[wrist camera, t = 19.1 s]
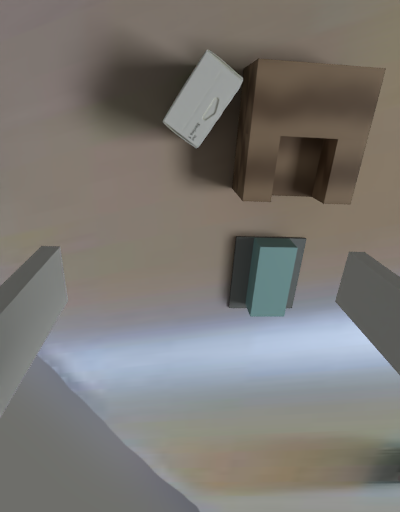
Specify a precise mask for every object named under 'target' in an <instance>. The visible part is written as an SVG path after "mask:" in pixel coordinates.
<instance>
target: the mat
mask: <svg viewBox="0 0 400 512" xmlns="http://www.w3.org/2000/svg"><path fill="white" fill-rule="evenodd" d="M254 238H286V237H241V236H236V245H235V254H234V263H233V272H232V281H231V291H230V300H229V308H247V306H246V304H245V303H246V296H247V288H248V281H249V273H250V266H251V258H252V251H253V244H254ZM287 239H290V240H291V241H292V242H293V243H294V244H295V245H296V246H297V247H298V249H297V254H296V259H295V264H294V269H293V274H292V279H291V284H290V289H289V294H288V299H287V304H286V308H292V305H293V300H294V295H295V291H296V286H297V281H298V276H299V272H300V267H301V262H302V257H303V253H304V248H305V243H306V238H287Z"/></svg>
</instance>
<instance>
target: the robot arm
mask: <svg viewBox="0 0 400 512" xmlns="http://www.w3.org/2000/svg"><path fill="white" fill-rule="evenodd" d="M67 302H68V297H67V290H66V283H65V276H64V270H63V263H62V256H61V249H60V247H59V246H41V247H40V248H39V249H38V250H37V251H36V252H35V253H34V254H33V255H32V256H31V257H30V258H29V259H28V260H27V261H26V262H25V263H24V264H23V265H22V266H21V267H20V268H19V269H18V270H17V271H16V272H15V273H13V274H12V275H11V276H10V277H9V278H8V279H7V280H6V281H5V282H4V283H3V284H2V285H1V286H0V418H1V416H2V414H3V412H4V411H5V409H6V407H7V406H8V404H9V402H10V401H11V399H12V397H13V395H14V393H15V392H16V390H17V388H18V387H19V385H20V383H21V381H22V380H23V378H24V376H25V374H26V373H27V371H28V369H29V368H30V366H31V364H32V362H33V360H34V359H35V357H36V356H37V354H38V352H39V350H40V349H41V347H42V345H43V343H44V342H45V340H46V338H47V336H48V335H49V333H50V331H51V330H52V328H53V326H54V324H55V323H56V321H57V319H58V317H59V316H60V314H61V312H62V311H63V309H64V307H65V305H66V304H67ZM335 302H336V303H337V304H338V305H339V306H340V307H341V309H342V310H343V311H344V312H345V313H346V314H347V315H348V317H349V318H350V319H351V320H352V321H353V322H354V323H355V325H356V326H357V327H358V328H359V329H360V330H361V331H362V333H363V334H364V335H365V336H366V337H367V338H368V339H369V340H370V342H371V343H372V344H373V345H374V346H375V347H376V348H377V350H378V351H379V352H380V353H381V354H382V355H383V356H384V358H385V359H386V360H387V361H388V362H389V363H390V364H391V366H392V367H393V368H394V369H395V370H396V371H397V372H398V374H399V375H400V277H399V276H398V275H396V274H395V273H393V272H392V271H390V270H389V269H388V268H386V267H385V266H383V265H382V264H381V263H379V262H378V261H376V260H375V259H373V258H372V257H371V256H369V255H368V254H366V253H365V252H349V254H348V257H347V261H346V264H345V268H344V272H343V275H342V279H341V283H340V286H339V290H338V293H337V297H336V301H335Z"/></svg>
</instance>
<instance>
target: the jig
mask: <svg viewBox="0 0 400 512" xmlns="http://www.w3.org/2000/svg"><path fill="white" fill-rule="evenodd" d="M385 70H386V68H373V67H360V66H348V65H335V64H322V63H309V62H296V61H283V60H271V59H257V60H256V61H254V62H253V63H252V64H250V65H249V66H247V67H246V68H244V70H243V82H242V91H241V102H240V112H239V122H238V133H237V143H236V154H235V164H234V174H233V185H232V189H233V190H234V191H235V192H236V193H237V195H238V196H239V197H240V198H241V200H242V201H259V202H271V196H272V195H278V196H306V197H313V198H315V199H317V200H318V201H320V202H322V203H323V204H349V205H350V204H351V200H352V196H353V193H354V189H355V185H356V181H357V177H358V174H359V170H360V166H361V162H362V158H363V154H364V151H365V147H366V143H367V139H368V135H369V131H370V128H371V124H372V120H373V116H374V112H375V108H376V105H377V101H378V97H379V93H380V89H381V85H382V82H383V78H384V74H385Z"/></svg>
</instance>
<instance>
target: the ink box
mask: <svg viewBox="0 0 400 512" xmlns="http://www.w3.org/2000/svg"><path fill="white" fill-rule="evenodd" d="M242 82H243V78H242V77H241V76H240V75H239V74H238V73H237V72H235V71H234V70H233V69H232V68H231V67H230V66H229V65H228V64H226V63H225V62H224V61H223V60H222V59H221V58H219V57H218V56H217V55H216V54H214V53H213V52H211V51H210V50H206V52H205V53H204V55H203V56H202V58H201V59H200V61H199V62H198V64H197V65H196V67H195V68H194V70H193V71H192V73H191V74H190V76H189V78H188V79H187V81H186V82H185V84H184V86H183V87H182V89H181V90H180V92H179V94H178V95H177V97H176V99H175V100H174V102H173V104H172V105H171V107H170V109H169V111H168V112H167V114H166V116H165V118H164V119H163V123H164V124H165V125H166V126H167V127H168V128H169V129H170V130H172V131H173V132H174V133H175V134H177V135H178V136H179V137H181V138H182V139H183V140H185V141H186V142H187V143H189V144H190V145H192V146H193V147H195V148H198V147H199V146H200V145H201V143H202V142H203V140H204V139H205V137H206V136H207V135H208V133H209V132H210V131H211V129H212V127H213V126H214V124H215V123H216V121H217V120H218V119H219V118H220V116H221V115H222V113H223V111H224V110H225V108H226V107H227V105H228V104H229V103H230V101H231V100H232V99H233V97H234V95H235V94H236V92H237V91H238V90H239V88H240V86H241V84H242Z"/></svg>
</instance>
